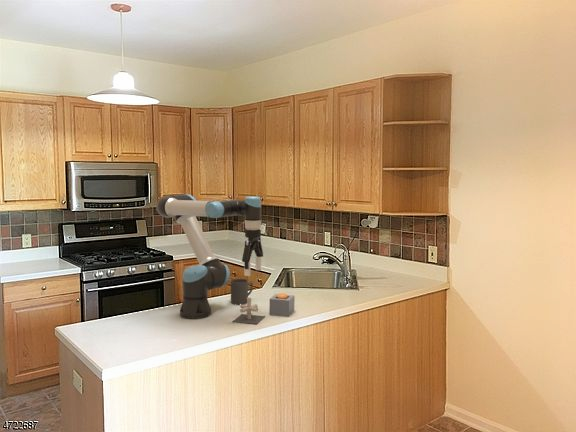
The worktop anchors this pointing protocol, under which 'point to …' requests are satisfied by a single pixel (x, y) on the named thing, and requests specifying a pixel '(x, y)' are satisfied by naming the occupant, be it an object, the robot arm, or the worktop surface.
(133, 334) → the worktop surface
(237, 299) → the mug
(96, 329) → the worktop surface
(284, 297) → the plunger
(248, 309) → the beige toy jack
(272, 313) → the housing
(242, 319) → the mat
